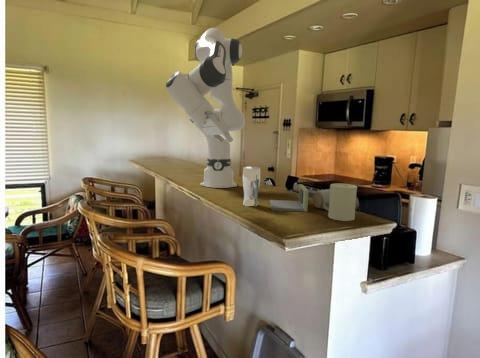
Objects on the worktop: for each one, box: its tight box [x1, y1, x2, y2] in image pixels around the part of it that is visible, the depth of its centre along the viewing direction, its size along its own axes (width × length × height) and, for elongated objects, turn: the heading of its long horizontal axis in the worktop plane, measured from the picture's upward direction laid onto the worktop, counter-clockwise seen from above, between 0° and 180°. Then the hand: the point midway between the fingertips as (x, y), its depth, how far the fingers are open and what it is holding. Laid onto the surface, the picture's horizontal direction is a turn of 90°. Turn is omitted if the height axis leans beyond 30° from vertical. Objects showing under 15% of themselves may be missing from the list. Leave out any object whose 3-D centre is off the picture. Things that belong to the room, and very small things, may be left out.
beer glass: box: [242, 166, 261, 207], centre depth 138 cm, size 7×7×15 cm
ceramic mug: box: [312, 188, 330, 212], centre depth 135 cm, size 11×8×8 cm
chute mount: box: [269, 183, 309, 212], centre depth 137 cm, size 14×13×8 cm
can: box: [327, 182, 358, 222], centre depth 122 cm, size 9×9×12 cm
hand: (226, 141), depth 130 cm, fingers open, 8 cm apart
